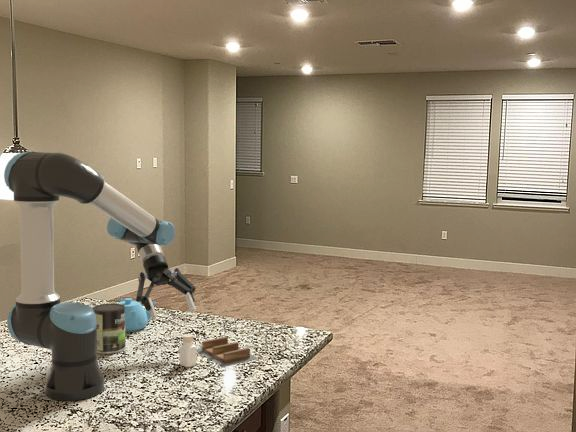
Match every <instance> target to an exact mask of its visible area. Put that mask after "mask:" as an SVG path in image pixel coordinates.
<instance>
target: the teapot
mask: <svg viewBox="0 0 576 432" xmlns="http://www.w3.org/2000/svg"><path fill="white" fill-rule="evenodd" d="M152 303H153V306H154V308H156V306H157V302H156V301H155V302H154V301H152ZM116 304H122V305H124V306H125V333H130V332H137V331H141V330H143V329H144V328H145V327H146V326H147V325H148V323H149V321H150V320H151V319H152V318H151V315H150V313H149V311H147V310H146V309H145V307H144V305H143V304H142V303H141V302H140V301H139V302H137V301H136V300H133V298H131V297H127V298H120V301H119V302H117V303H116Z"/></svg>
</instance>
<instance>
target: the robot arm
mask: <svg viewBox="0 0 576 432" xmlns="http://www.w3.org/2000/svg"><path fill="white" fill-rule="evenodd" d="M3 177H4V178H3V179H4V183H5V186H6V187H8V189H9V190H10V191H11V192H13V203H14V204H16V205H17V207H19V222H20V227H19V228H20V230H19V231H20V279H21V280H20V283H21V285H20V286H21V292H20V294H19V295H18V296H17V297H16V298H15V304H14V305H13V306H12V307H11V308H10V311H9V312H8V315H7V318H6V325H7V330H8V332H9V334H10V335H11V337H12V338H13V339H15V340H16V341H17V342H21V343H23V344H24V345H26V346H27V345H28V346H34V347H38V348H42V349H46V350H47V349H48V350H50V351H51V367H50V370H49V373H48V378H47V381H46V384H45V395H46V396H47V398H49V399H51V400H55V401H61V402H72V401H73V402H74V401H80V400H81V401H82V400H85V399H88V398H89V399H90V398H92V397H94V396H96V395H99V394H101V392H102V391H104V389H105V378H104V376H103V373H102V371H101V368H100V365H99V362H98V357H97V356H98V353H97V322H96V316H95V311H94V310H93V309H92V308H93V307H92V306H90V305H88V304H85V303H83V302H82V303H81V302H71V301H70V302H69V301H68V302H61V296H60V294H58V293H57V292H56V291H55V242H54V241H55V240H54V239H55V236H54V233H55V232H54V226H55V223H54V207H55V206H56V205H57V204H58V203H59V201H60V197H62V198H68V199H71V200H74V201H77V202H78V203H80V204H82V205H89V206H92V207H93V208H95V209H96V210H97V211H99V212H101V213H103V214H104V215H105V216H107V217H108V218H109V220H108V222H107V225H106V231H107V233H108V235H109V236H111V237H113V238H114V239H116V240H120V241H122V242H126V243H128V244H130V245H133V246H135V248H136V249H137V252H138V255H139V258H140V260H141V263H142V266H143V269H144V271H145V273H144V272H140V273H139V274H138V278H137V279H138V288H137V293H136V298H135V301H137V302H139V303H140V304H141V305H143V307H144V309H145V311H146V310H147V311H149V313H150V315H151V318H150V319H151V321H155V320H156V319H157V317H158V314H157V312H156V309H155V308H156V307H155V308H154V306H153V303H152V302H153V301H152V298H151V297H150V294H151V293H152V291H153V288H154V286H155V285H156V286H157V287H159V286H162V285H163V286H166V285H168V286H170V287H172V288H174V289H175V290H178V291H179V292H180V293H182V294H183V295H184V299H185V301H186V304H187V307H188V309H189V312H190V314H192V315H193V314H194V313H195V312H196V311H197V307H196V306H195V305H196V304H195V297H194V295H193V294H194V293H195V291H196V289H197V288H196V286H195V285H194V284H193V283H192V282H191V281H190V280H189V279H188V278H187V277H186V276H184V274H182V273H181V270H180V269H179V268H178V267H176V268H175V269H172V270H171V269H170V268H169V265H168V262H167V259H166V257H165V255H164V252H163V249H162V247H161V246H169V245H170V244H172V242H174V239H175V236H176V229H175V226H174V224H173V223H172V222H170V221H166V220H160V219H158V218H156V217H155V216H154V215H152V214H150V213H149V212H148V211H147V210H145V209H143V208H142V207H141V206H140V205H138V204H137V203H135V202H134V201H132V200H131V199H130V198H128V197H127V196H125V195H124V194H123V193H121V192H120V191H118V190H117V189H116V188H115V187H113V186H112V185H110V184H108V183H107V181H105V178H104V176H103V175H102V174H101V173H99V172H98V171H97V170H96V169H94V168H93V167H91V166H90V165H88V164H86V163H85V162H83V161H82V160H80V159H78V158H76V157H74V156H72V155H70V154H66V153H63V152H44V151H43V152H42V151H41V152H40V151H33V150H32V151H26V152H25V151H24V152H20V153H17V154H15V155H14V156H13V157H12V158H11V159H9V161H8V162H7V164H6V166H5V169H4V173H3ZM146 280H148V281H150V283H149V285H148V288H147V289H146V292H145V294H144V295H143V293H144V286H145V281H146ZM149 297H150V298H149Z"/></svg>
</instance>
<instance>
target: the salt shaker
mask: <svg viewBox="0 0 576 432" xmlns="http://www.w3.org/2000/svg"><path fill="white" fill-rule="evenodd" d="M196 349H197V346H196V344H194V334H192V333H185V334H182V345H180V346H179V355H178V356H179V365H180V366H182V367H185V368H190V367H193V366H196V365H197V364H198V363H197V362H198V361H197V359H198V358H197V353H198V352H197V351H196Z"/></svg>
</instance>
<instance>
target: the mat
mask: <svg viewBox="0 0 576 432" xmlns="http://www.w3.org/2000/svg"><path fill="white" fill-rule="evenodd" d="M228 344H229V342H228ZM239 349H241V348H240V347H239ZM196 351H197V353H198V354H200V355H202V356H203V357H206V358H207V359H209V360H210V361H212V362H214V363H216V364H217V365H219V366H221V367H223V368H225V367H230V366H233V365H234V366H235V365H238V364H241V363H242V364H243V363H248V362H251V361H255V360H259V357H257V356H255V355H253V354H251V353H250V358H247V359H242V360H238V361H234V362H230V363H226V364H225V363H224V362H222V361H220V360H218V359H217V358H215V357H213V356H211V355H209V354H208V353H206V352H204V351H202V347H200V348H196Z"/></svg>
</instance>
